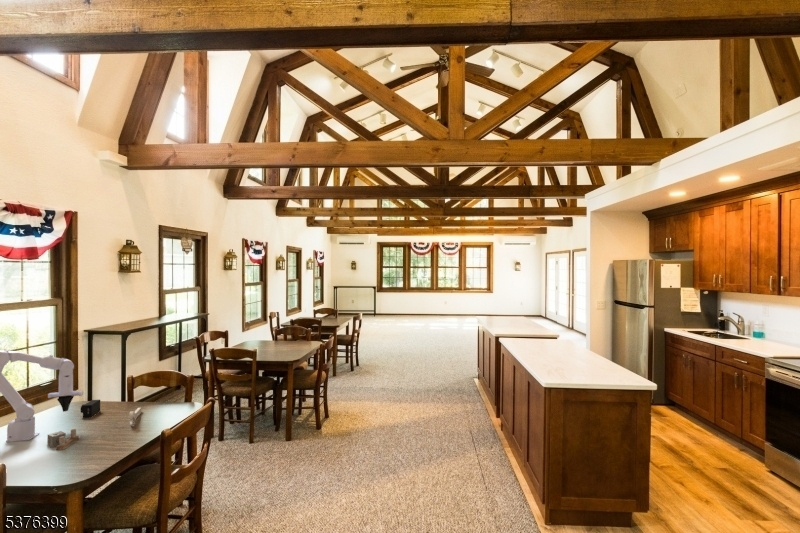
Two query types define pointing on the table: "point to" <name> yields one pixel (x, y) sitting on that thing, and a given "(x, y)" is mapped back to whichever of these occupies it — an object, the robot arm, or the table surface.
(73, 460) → the table surface
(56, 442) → the dice cube
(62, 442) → the peg rack
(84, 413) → the digital camera
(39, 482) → the table surface
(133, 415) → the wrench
